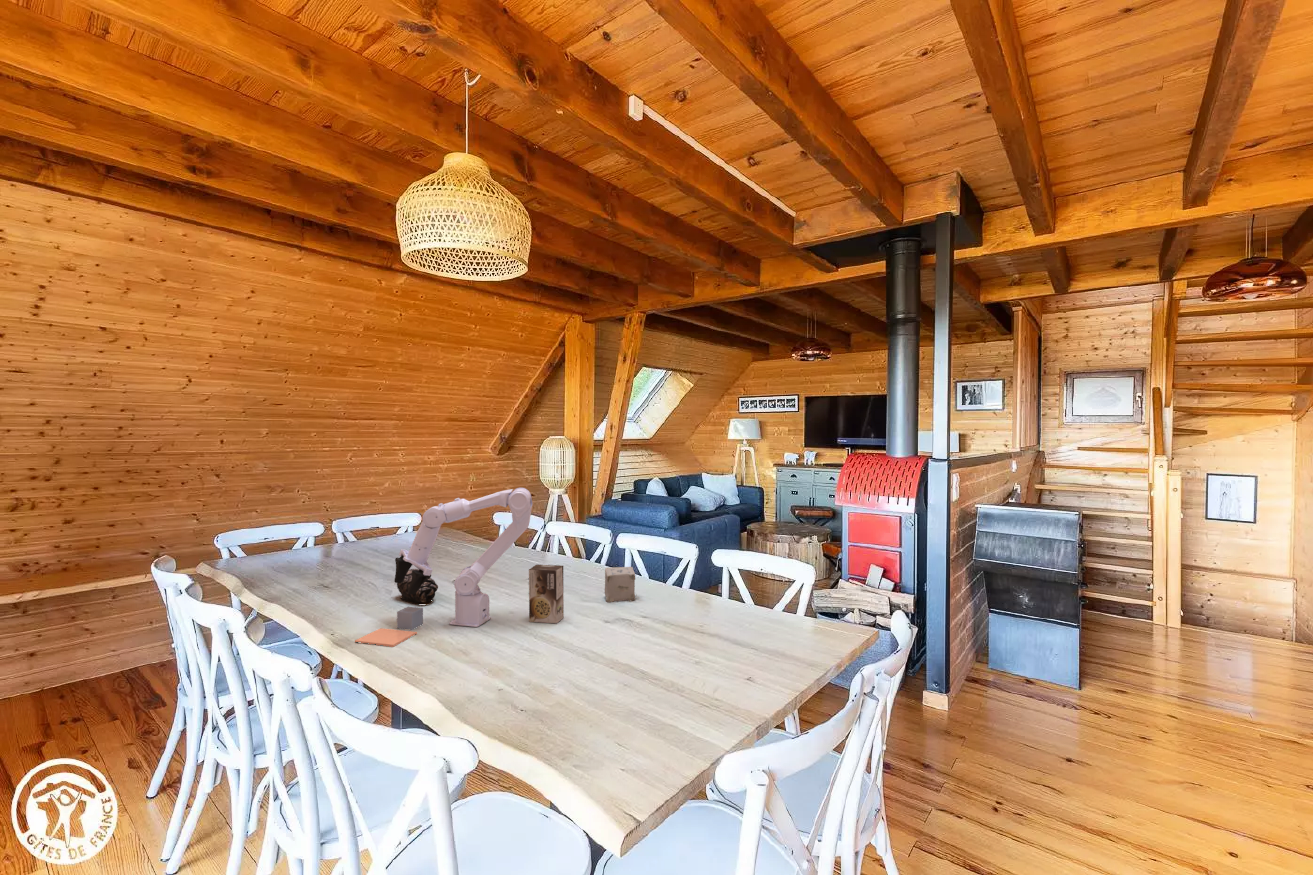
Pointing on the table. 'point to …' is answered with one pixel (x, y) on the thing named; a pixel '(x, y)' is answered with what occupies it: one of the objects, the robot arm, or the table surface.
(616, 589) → the brown cardboard box
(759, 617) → the table surface
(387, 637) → the terracotta tile
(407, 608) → the slate block
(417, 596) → the pine cone
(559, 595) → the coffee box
